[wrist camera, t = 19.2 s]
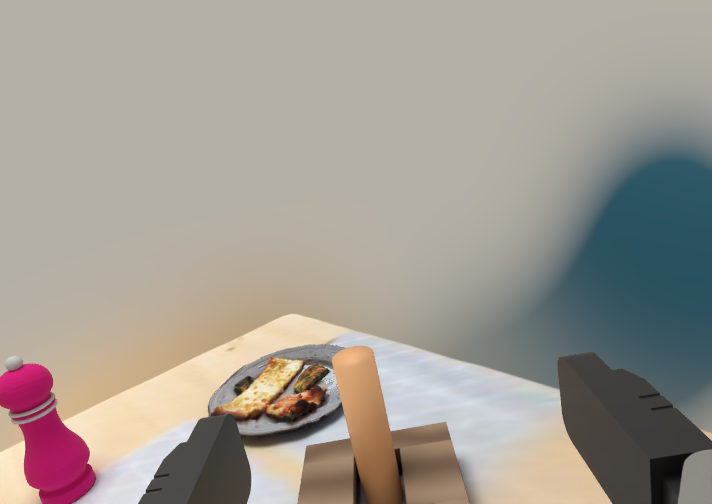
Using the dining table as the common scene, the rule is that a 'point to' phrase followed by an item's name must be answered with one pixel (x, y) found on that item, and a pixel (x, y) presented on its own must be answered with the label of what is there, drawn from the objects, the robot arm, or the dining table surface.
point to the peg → (368, 427)
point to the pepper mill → (45, 435)
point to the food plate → (279, 391)
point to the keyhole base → (414, 457)
